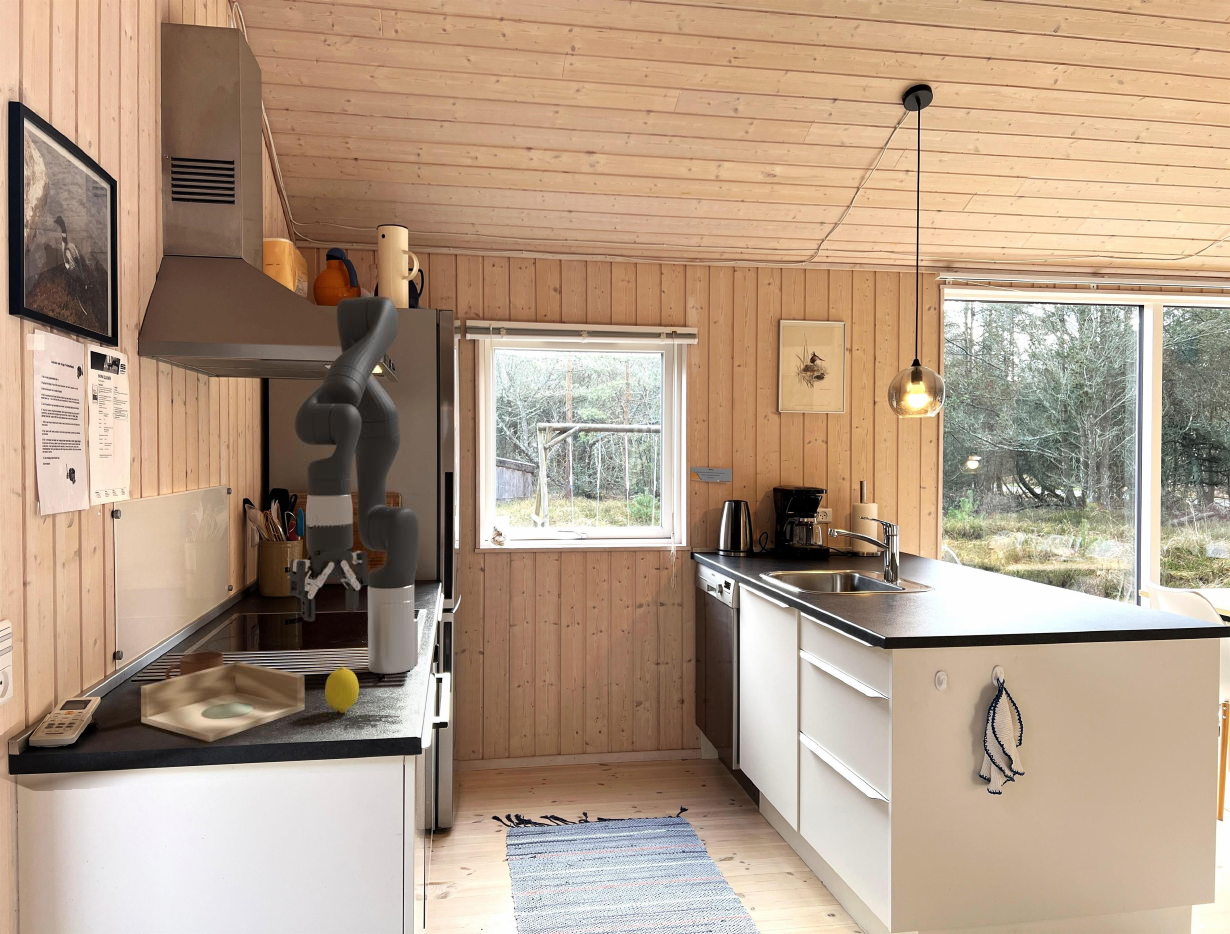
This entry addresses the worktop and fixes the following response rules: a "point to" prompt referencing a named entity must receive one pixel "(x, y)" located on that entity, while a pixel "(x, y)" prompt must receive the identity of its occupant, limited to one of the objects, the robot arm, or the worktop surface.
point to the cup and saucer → (196, 663)
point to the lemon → (341, 689)
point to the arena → (222, 700)
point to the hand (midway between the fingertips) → (330, 615)
